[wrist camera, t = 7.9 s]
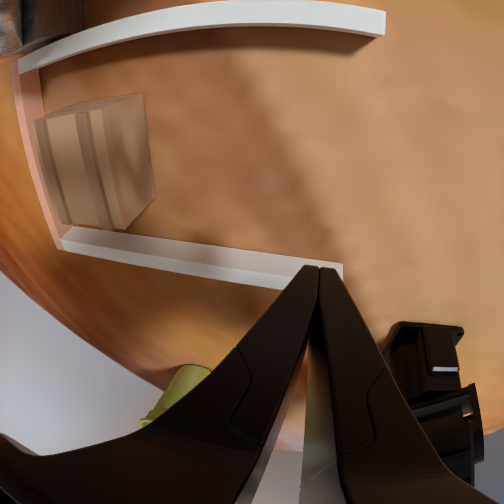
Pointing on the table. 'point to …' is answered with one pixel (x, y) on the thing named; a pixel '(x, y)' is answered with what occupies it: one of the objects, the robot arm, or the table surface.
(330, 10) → the bay
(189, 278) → the table surface
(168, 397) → the plant pot
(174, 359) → the table surface
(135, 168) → the crate
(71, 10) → the winch
